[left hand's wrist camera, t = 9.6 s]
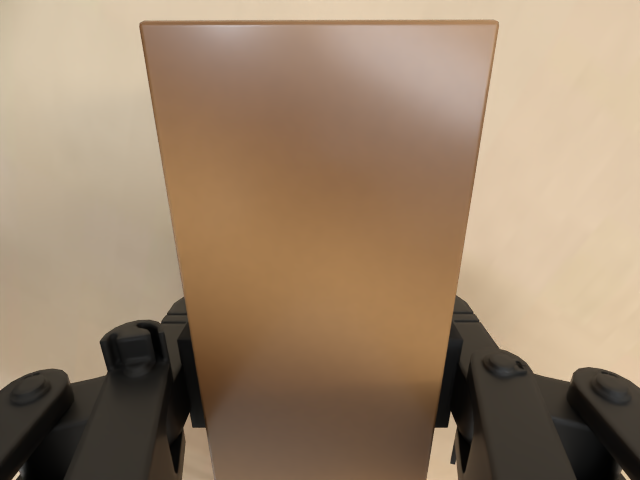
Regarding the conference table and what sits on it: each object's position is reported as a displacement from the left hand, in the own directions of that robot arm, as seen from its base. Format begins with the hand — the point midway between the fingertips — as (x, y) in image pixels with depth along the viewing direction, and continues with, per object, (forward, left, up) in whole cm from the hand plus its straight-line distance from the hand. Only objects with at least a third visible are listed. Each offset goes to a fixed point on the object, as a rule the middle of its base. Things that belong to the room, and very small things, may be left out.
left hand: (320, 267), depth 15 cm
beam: (+31, -14, -1) cm, 34 cm away
